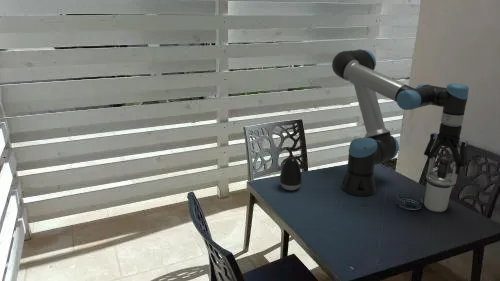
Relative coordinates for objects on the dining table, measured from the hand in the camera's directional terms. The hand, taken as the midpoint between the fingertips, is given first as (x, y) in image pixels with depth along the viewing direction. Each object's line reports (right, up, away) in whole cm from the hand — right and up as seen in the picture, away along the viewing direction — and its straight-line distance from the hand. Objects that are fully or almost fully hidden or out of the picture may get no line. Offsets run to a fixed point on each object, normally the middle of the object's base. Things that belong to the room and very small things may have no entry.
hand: (441, 176), depth 156 cm
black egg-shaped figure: (-60, -7, +20) cm, 64 cm away
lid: (0, -2, 0) cm, 2 cm away
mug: (0, -13, +4) cm, 14 cm away
